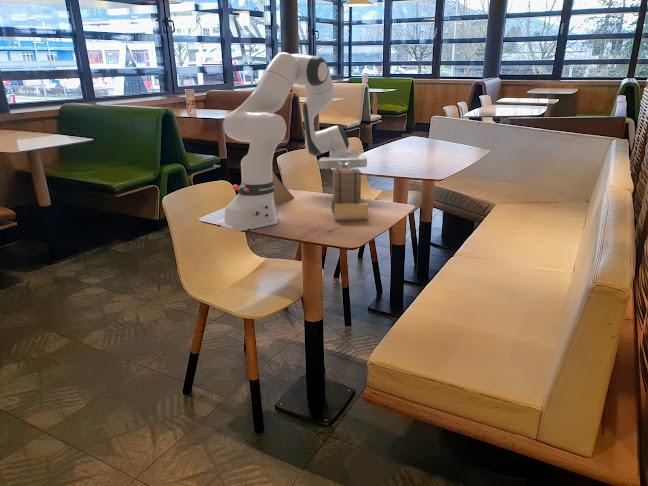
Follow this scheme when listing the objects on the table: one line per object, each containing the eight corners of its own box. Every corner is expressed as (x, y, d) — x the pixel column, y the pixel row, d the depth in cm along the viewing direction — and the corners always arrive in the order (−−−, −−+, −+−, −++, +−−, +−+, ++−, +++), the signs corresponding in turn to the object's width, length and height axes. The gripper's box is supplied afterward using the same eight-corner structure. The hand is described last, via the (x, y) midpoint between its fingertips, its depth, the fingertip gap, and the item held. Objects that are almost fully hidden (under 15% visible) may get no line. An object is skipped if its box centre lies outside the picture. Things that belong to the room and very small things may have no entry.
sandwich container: (295, 198, 212) (294, 163, 207) (273, 206, 200) (271, 169, 195) (280, 195, 217) (278, 161, 212) (257, 203, 205) (255, 167, 200)
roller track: (330, 205, 199) (330, 191, 197) (359, 205, 200) (360, 190, 198) (335, 221, 178) (335, 205, 176) (367, 220, 179) (368, 204, 177)
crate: (333, 198, 197) (332, 169, 193) (357, 198, 198) (358, 168, 194) (334, 203, 189) (334, 173, 186) (360, 203, 190) (360, 172, 186)
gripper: (317, 153, 211) (318, 159, 198) (364, 151, 212) (369, 157, 199) (317, 167, 213) (319, 174, 200) (364, 166, 214) (369, 172, 201)
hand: (344, 166), depth 199 cm, fingers closed
